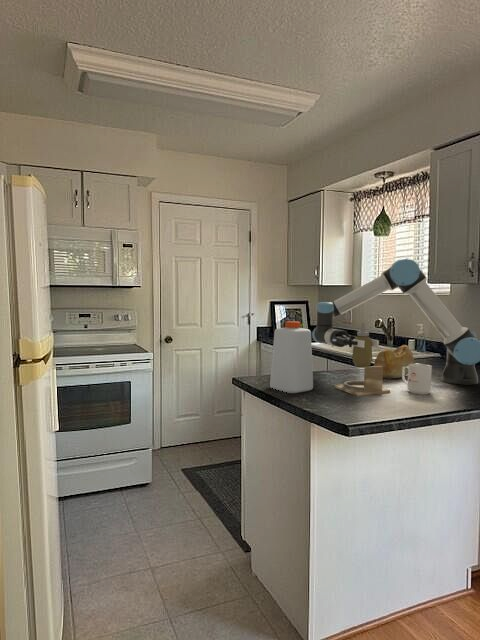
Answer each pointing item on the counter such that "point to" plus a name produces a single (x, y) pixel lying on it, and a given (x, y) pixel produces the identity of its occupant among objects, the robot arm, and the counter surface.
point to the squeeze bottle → (362, 349)
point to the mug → (418, 378)
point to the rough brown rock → (394, 361)
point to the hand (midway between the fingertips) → (370, 344)
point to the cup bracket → (366, 383)
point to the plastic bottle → (292, 359)
